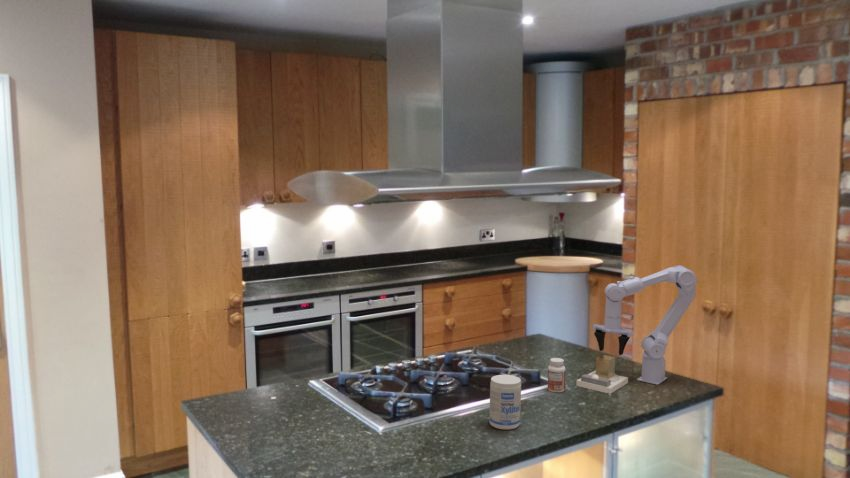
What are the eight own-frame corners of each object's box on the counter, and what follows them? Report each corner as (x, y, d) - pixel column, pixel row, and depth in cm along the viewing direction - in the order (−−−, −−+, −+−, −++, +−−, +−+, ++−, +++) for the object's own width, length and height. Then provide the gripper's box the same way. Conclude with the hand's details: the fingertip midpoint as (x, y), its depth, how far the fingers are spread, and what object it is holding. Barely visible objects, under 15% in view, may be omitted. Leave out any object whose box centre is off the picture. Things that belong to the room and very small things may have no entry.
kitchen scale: (595, 375, 265) (595, 362, 265) (627, 382, 257) (628, 369, 256) (576, 385, 254) (576, 371, 253) (610, 393, 246) (610, 379, 245)
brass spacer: (601, 372, 260) (602, 354, 259) (614, 375, 257) (615, 357, 256) (595, 376, 256) (596, 357, 255) (608, 379, 253) (609, 360, 252)
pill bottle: (555, 385, 254) (556, 356, 252) (568, 390, 249) (569, 360, 248) (543, 389, 250) (544, 359, 248) (557, 394, 245) (558, 363, 244)
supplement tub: (503, 433, 212) (504, 386, 210) (482, 423, 219) (483, 378, 217) (526, 425, 218) (527, 380, 216) (505, 416, 225) (506, 372, 223)
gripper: (589, 315, 259) (588, 350, 261) (627, 321, 250) (625, 358, 252) (598, 311, 265) (596, 346, 266) (635, 318, 255) (633, 354, 257)
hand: (611, 352), depth 259 cm, fingers open, 7 cm apart
